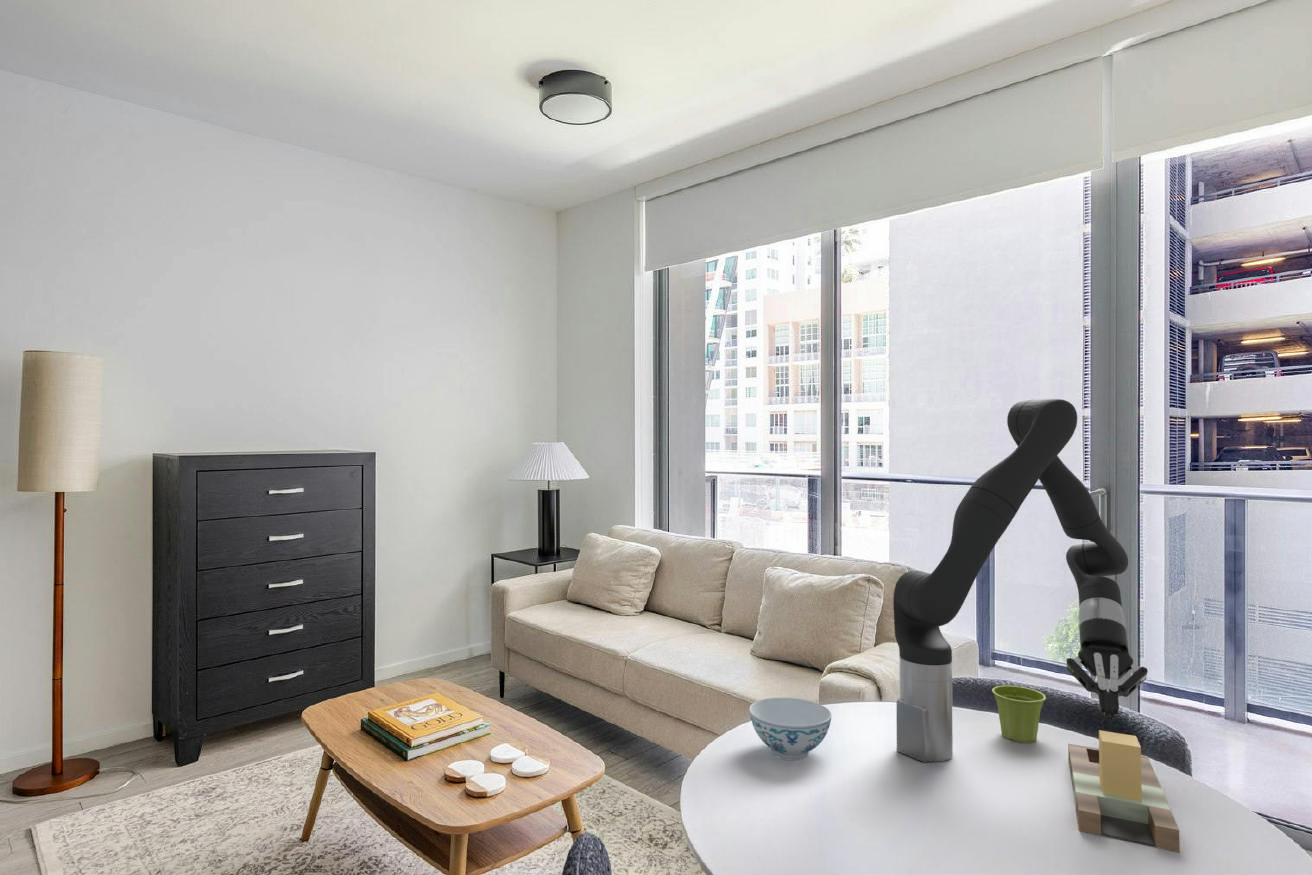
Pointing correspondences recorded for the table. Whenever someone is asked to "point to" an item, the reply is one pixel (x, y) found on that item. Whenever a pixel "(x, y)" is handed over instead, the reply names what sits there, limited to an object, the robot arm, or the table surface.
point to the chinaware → (790, 725)
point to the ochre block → (1120, 765)
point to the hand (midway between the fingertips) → (1109, 714)
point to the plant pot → (1019, 712)
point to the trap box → (1120, 804)
